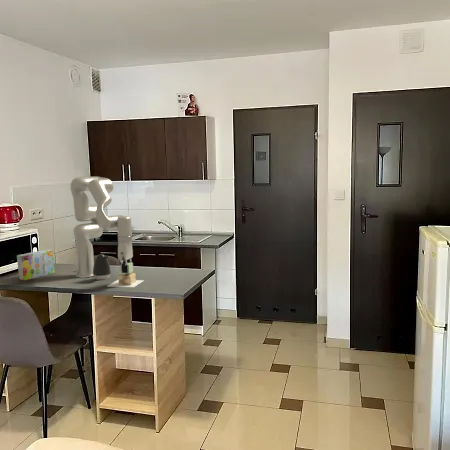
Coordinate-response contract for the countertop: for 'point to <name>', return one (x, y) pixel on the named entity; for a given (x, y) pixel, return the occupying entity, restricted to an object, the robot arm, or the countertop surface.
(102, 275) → the pump dispenser
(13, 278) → the countertop surface
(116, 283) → the building board
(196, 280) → the countertop surface
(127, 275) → the oak block
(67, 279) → the countertop surface
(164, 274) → the countertop surface
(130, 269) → the sage cube
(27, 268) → the snack box
